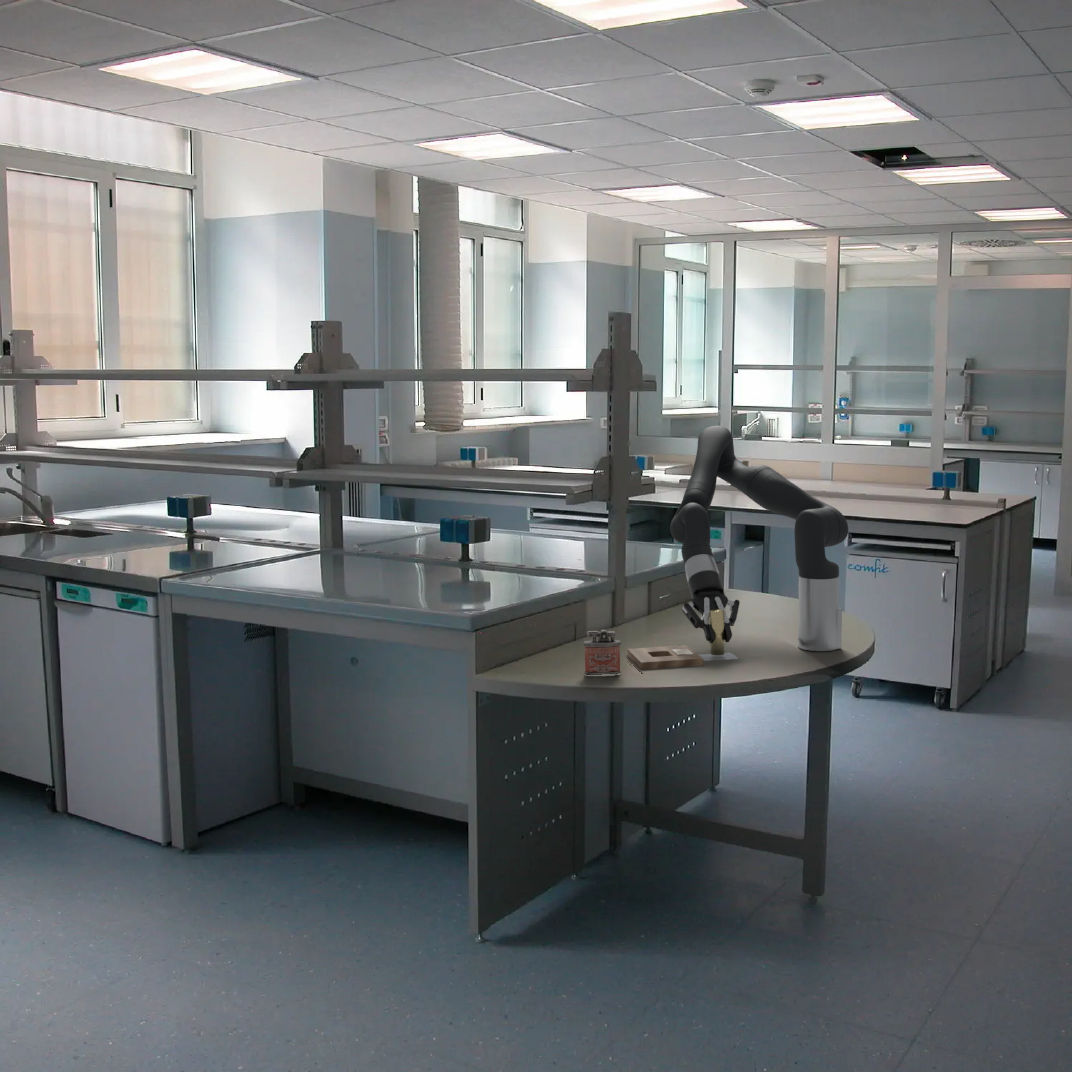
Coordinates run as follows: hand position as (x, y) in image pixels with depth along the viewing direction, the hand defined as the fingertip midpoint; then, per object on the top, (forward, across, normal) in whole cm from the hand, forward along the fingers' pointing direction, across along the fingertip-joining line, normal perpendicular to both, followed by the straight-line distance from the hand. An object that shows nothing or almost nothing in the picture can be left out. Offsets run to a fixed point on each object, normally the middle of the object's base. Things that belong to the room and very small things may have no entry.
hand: (719, 640), depth 252 cm
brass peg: (+1, 0, -4) cm, 4 cm away
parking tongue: (+3, 0, -6) cm, 6 cm away
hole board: (+3, +12, -6) cm, 14 cm away
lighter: (+5, +27, -3) cm, 28 cm away
